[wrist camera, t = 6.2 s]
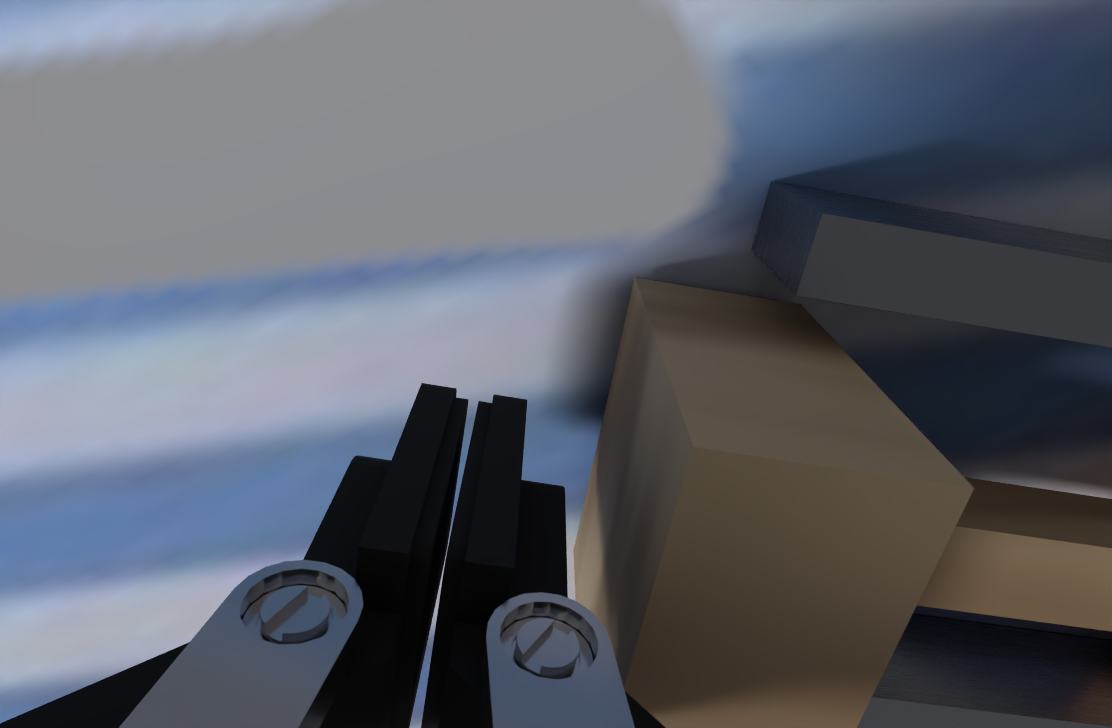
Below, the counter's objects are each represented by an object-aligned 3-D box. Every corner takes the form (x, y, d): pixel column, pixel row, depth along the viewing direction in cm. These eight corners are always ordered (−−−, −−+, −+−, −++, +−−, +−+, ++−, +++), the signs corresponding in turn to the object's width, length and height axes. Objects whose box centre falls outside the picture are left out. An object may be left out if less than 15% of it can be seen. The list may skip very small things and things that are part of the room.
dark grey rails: (771, 181, 12) (823, 213, 10) (1508, 311, 13) (1714, 367, 11) (643, 621, 16) (658, 717, 14) (1214, 694, 17) (1317, 795, 15)
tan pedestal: (638, 263, 12) (699, 426, 7) (1370, 384, 13) (1900, 604, 8) (571, 559, 15) (580, 836, 10) (1186, 641, 16) (1495, 932, 11)
